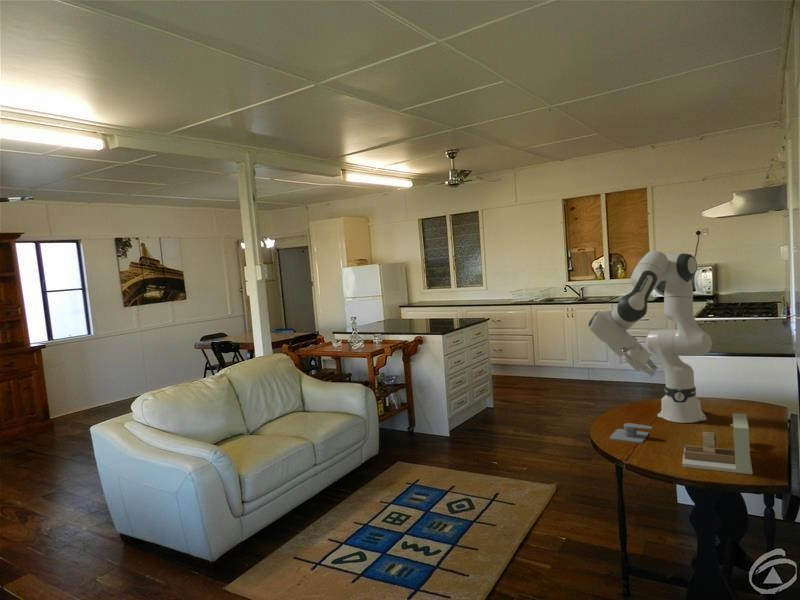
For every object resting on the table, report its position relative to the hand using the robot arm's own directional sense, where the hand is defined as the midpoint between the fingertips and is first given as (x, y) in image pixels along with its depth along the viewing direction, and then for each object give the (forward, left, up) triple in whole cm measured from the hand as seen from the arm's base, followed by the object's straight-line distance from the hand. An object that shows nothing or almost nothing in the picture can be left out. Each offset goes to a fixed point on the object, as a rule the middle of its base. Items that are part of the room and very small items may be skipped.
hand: (655, 372), depth 194 cm
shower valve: (-11, -11, -30) cm, 34 cm away
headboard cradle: (+7, +18, -29) cm, 35 cm away
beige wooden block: (+7, +16, -28) cm, 33 cm away
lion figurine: (-10, +27, -30) cm, 41 cm away
